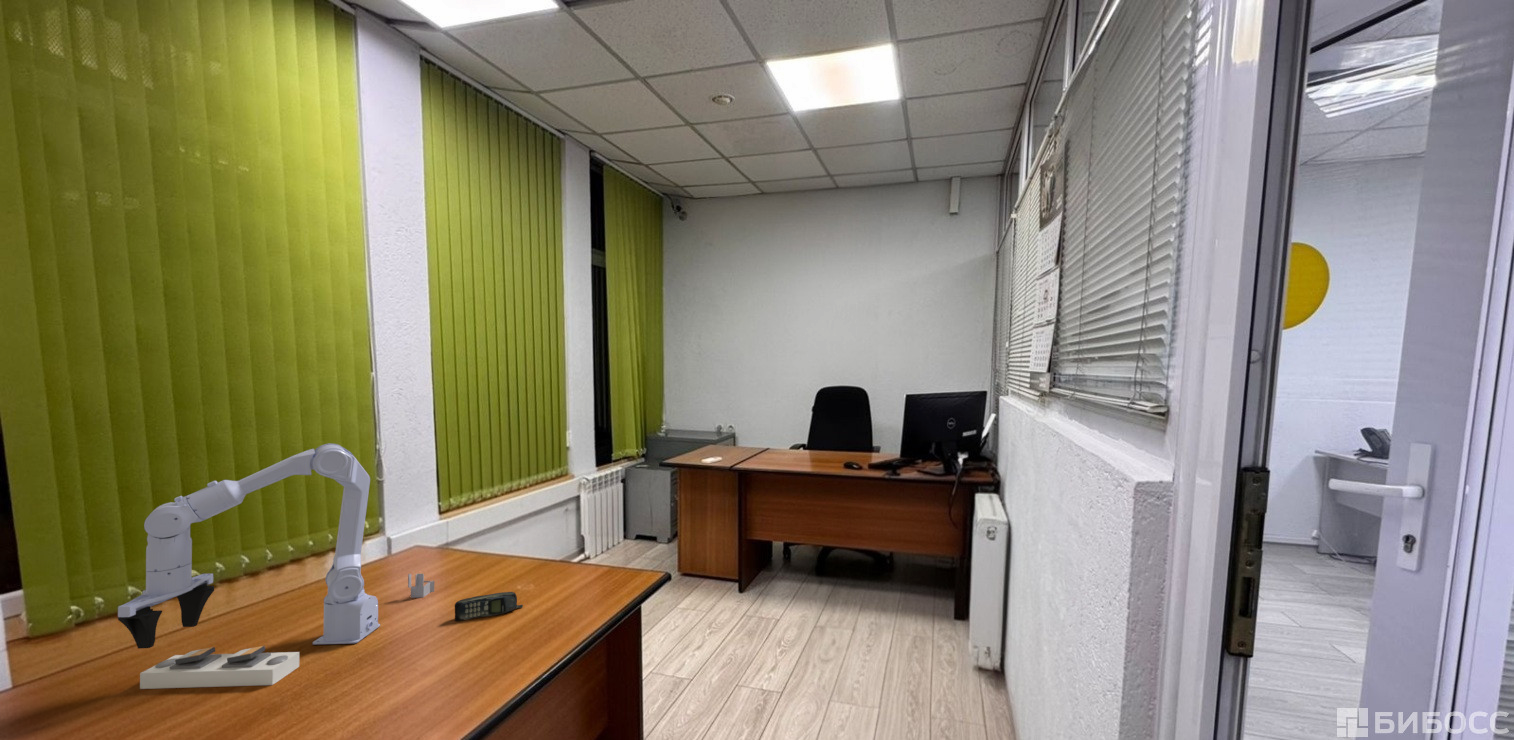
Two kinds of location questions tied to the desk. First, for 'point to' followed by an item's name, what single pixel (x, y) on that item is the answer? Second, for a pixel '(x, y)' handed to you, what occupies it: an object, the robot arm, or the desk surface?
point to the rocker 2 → (246, 654)
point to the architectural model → (420, 586)
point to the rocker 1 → (195, 655)
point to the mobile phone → (485, 605)
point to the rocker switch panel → (220, 671)
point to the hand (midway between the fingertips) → (168, 636)
